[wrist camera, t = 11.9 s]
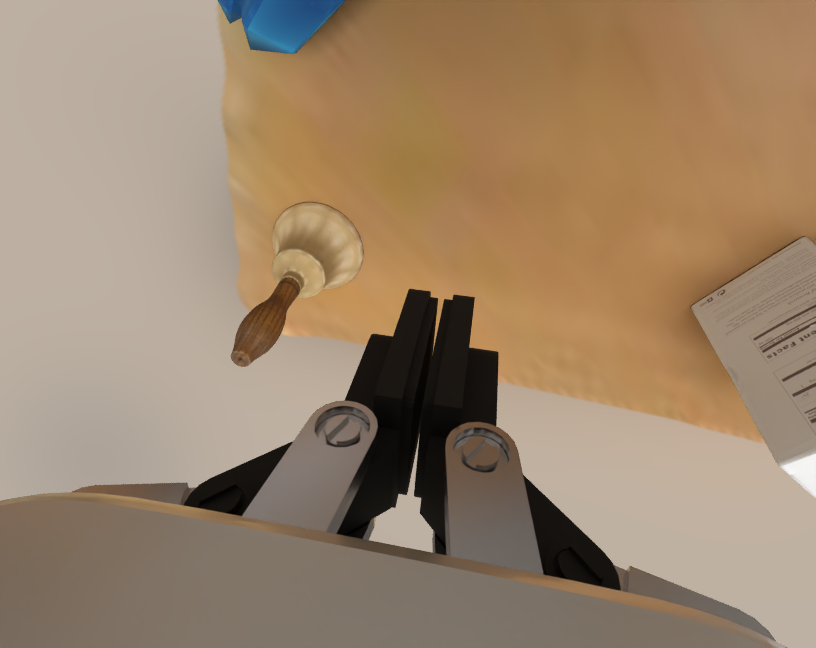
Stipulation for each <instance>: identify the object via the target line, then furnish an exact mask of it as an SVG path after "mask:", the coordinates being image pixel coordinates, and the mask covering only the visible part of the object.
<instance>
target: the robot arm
mask: <svg viewBox="0 0 816 648" xmlns="http://www.w3.org/2000/svg"><path fill="white" fill-rule="evenodd" d="M430 296H431V292H430V291H423V290H415V289H409V291H408V294H407V297H406V300H405V303H404V306H403V309H402V312H401V315H400V318H399V321H398V324H397V327H396V330H395V333H394V335H393V337H392V336H385V335H378V334H372V335H371V337H370V339H369V341H368V344H367V346H366V349H365V351H364V354H363V356H362V359H361V361H360V364H359V366H358V369H357V371H356V374H355V376H354V379H353V381H352V384H351V386H350V389H349V391H348V394H347V396H346V399H345V401H336V402H332V403H329V404H326V405H324V406H323V407H321V408H319V409H317V410H316V411H315V412H314V413H313V414H312V416H311V417H310V418H309V420H308V421H307V423H306V424H305V425H304V427H303V428H302V430H301V431H300V433H299V434H298V436H297V437H296V439H295V440H294V441H293V442H290V443H288V444H286V445H284V446H281V447H279V448H277V449H275V450H272V451H271V452H268V453H266V454H264V455H262V456H259V457H257V458H255V459H252V460H250V461H248V462H246V463H244V464H241V465H239V466H237V467H235V468H232V469H231V470H228V471H226V472H224V473H221V474H219V475H217V476H215V477H212V478H210V479H209V480H207V481H205V482H204V483H202V484H200V485H199V486H198V487H197V488H189V487H188V484H187V483H157V484H125V485H124V484H122V485H94V486H88V487H83V488H80V489H77V490H75V491H73V492H70V493H48V494H37V495H31V496H24V497H18V498H12V499H7V500H2V501H0V648H787V647H785V646H783V645H782V644H779V643H778V642H776V641H775V639H774V638H773V636H772V635H771V634H770V632H769V631H768V630H767V629H766V628H765V627H763V626H762V625H761V624H760V623H759V622H758V621H757V620H756V619H755V618H753V617H751V616H750V615H748V614H746V613H744V612H742V611H741V610H739V609H737V608H734V607H732V606H729V605H727V604H724V603H721V602H719V601H717V600H714V599H712V598H709V597H707V596H704V595H702V594H699V593H696V592H694V591H691V590H689V589H687V588H684V587H682V586H679V585H677V584H674V583H671V582H669V581H666V580H664V579H662V578H659V577H657V576H654V575H652V574H649V573H646V572H644V571H642V570H639V569H637V568H634V567H632V566H629V568H628V569H627V570H624V569H622V568H619V567H617V566H614V565H613V563H612V562H611V560H610V559H609V558H608V557H607V556H606V554H605V553H604V552H603V551H602V550H601V549H600V548H599V547H598V546H597V545H596V544H595V543H594V542H593V541H592V540H591V539H590V538H589V537H588V536H586V535H585V534H584V533H583V532H582V531H581V530H580V529H579V528H578V527H577V526H576V525H575V524H574V523H573V522H572V521H571V520H570V519H569V518H568V517H566V516H565V515H564V513H562V512H561V511H560V510H559V509H558V508H557V507H556V506H555V505H554V504H553V503H552V502H551V501H550V500H549V499H548V498H547V497H546V496H545V495H544V494H542V492H540V491H539V490H538V489H537V488H536V487H535V486H534V485H533V484H532V483H531V482H530V481H529V480H528V479H527V478H526V477H525V476H524V475H523V473H522V468H521V463H520V458H519V454H518V450H517V447H516V445H515V442H514V441H513V440H512V439H511V437H510V436H509V435H508V434H507V433H506V432H504V431H503V430H501V429H500V428H498V427H496V419H497V385H498V352H496V351H489V350H482V349H475V348H469V343H470V335H471V326H472V317H473V308H474V299H475V297H468V296H460V295H453V300H448V299H444V303H443V308H442V313H441V318H440V322H439V327H438V332H437V337H436V341H435V346H434V351H433V345H434V335H435V325H436V315H437V305H438V298H433V297H430ZM432 354H433V356H432ZM419 434H420V436H419ZM418 438H419V448H418V459H417V469H416V481H415V490H414V496H415V497H420V498H421V507H420V514H421V515H422V516H423V518H424V519H425V520H426V521H427V523H428V524H429V525H430V526H431V528H432V529H433V530H434V531H433V538H432V543H433V553H431V552H425V551H421V550H415V549H410V548H405V547H400V546H395V545H390V544H385V543H379V542H374V541H369V538H370V536H371V533H372V531H373V529H374V526H375V521H376V516H378V515H380V514H381V513H383V512H385V511H387V510H388V509H390V508H391V507H394V508H395V507H396V502H397V498H398V494H404V495H407V492H408V487H409V483H410V478H411V473H412V468H413V463H414V458H415V452H416V448H417V443H418Z"/></svg>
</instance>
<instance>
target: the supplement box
mask: <svg viewBox="0 0 816 648" xmlns="http://www.w3.org/2000/svg"><path fill="white" fill-rule="evenodd" d="M691 310H692V311H693V313H694V315H695V317H696V318H697V320H698V322H699V323H700V325H701V327H702V329H703V330H704V332H705V334H706V336H707V338H708V339H709V341H710V343H711V345H712V347H713V348H714V350H715V352H716V354H717V356H718V357H719V359H720V361H721V363H722V364H723V366H724V368H725V369H726V371H727V372H728V373H729V375H730V376H731V378H732V380H733V382H734V385H735V386H736V388H737V390H738V392H739V394H740V396H741V398H742V400H743V402H744V404H745V406H746V408H747V410H748V411H749V413H750V415H751V417H752V419H753V421H754V422H755V424H756V426H757V428H758V430H759V432H760V433H761V435H762V437H763V439H764V441H765V442H766V444H767V446H768V448H769V450H770V452H771V453H772V455H773V457H774V459H775V461H776V462H777V464H778V466H779V467H780V468H782V469H783V470H784V471H785V472H786V473H787V474H789V475H790V476H791V477H792V478H793V479H794V480H795V481H797V482H798V483H799V484H800V485H801V486H802V487H803V488H804V489H805V490H807V491H808V492H809V493H810V494H811V495H812V496H813V497H815V498H816V245H815V244H814V243H813V242H812V241H811V240H810V239H809V238H807V237H802V238H800V239H799V240H797V241H795V242H794V243H792V244H791V245H789V246H787V247H786V248H784V249H782V250H781V251H779V252H778V253H776V254H774V255H773V256H771V257H769V258H768V259H766V260H765V261H763V262H761V263H760V264H758V265H757V266H755V267H753V268H752V269H750V270H748V271H747V272H745V273H744V274H742V275H741V276H739V277H737V278H736V279H734V280H732V281H731V282H729V283H728V284H726V285H724V286H723V287H721V288H719V289H718V290H716V291H715V292H713V293H711V294H710V295H708V296H707V297H705V298H703V299H702V300H700V301H699V302H697V303H695V304H694V305H692V306H691Z"/></svg>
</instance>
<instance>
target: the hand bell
mask: <svg viewBox="0 0 816 648" xmlns="http://www.w3.org/2000/svg"><path fill="white" fill-rule="evenodd" d="M273 247H274V251H275V255H276V257H275V258H274V261H273V263H272V274H273V277H274V280H275V281H276V283H277V285H278V286H277V287H276V289H275V290H274V292H273V294H272V295H271V297H270V298H269V299H268V300H266V301H265V302H263V303H261V304H259V305H258V306H256V307H255V308H254V309H253V310H252V311H251V312H250V313H249V314H248V315H247V316H246V317H245V318H244V320H243V321H242V323H241V324H240V326H239V328H238V331H237V334H236V338H235V344H234V348H233V352H232V354H231V359H232V361H233V362H234V363H235V364H236V365H238V366H241V367H246V366H248V365H249V364H250V363H251V362H253V361H254V360H255V359H257V358H259V357H260V356H261V355H263V354H265V353H266V352H267V351H268V350H269V349H270V348H271V347H272V346H273V345H274V344H275V342H276V341H277V340H278V338H279V336H280V334H281V332H282V330H283V327H284V324H285V320H286V312H287V310H288V308H289V306H290V305H291V304H292V302H293V301H294V300H295V298H296V297H298V298H309V297H312V296H314V295H316V294H318V293H319V292H320V291H321V290H322V289H331V288H337V287H340V286H342V285H344V284H346V283H348V282H349V281H351V280H352V279H353V278H354V277H355V276H356V274H357V273H358V271H359V269H360V267H361V265H362V261H363V246H362V241H361V238H360V236H359V234H358V232H357V230H356V228H355V227H354V225H353V224H352V223H351V222H350V220H349V219H348V218H347V217H345V216H344V215H343V214H342V213H340V212H339V211H337V210H335V209H334V208H332V207H329V206H327V205H324V204H320V203H311V202H306V203H300V204H297V205H294V206H292V207H290V208H288V209H287V210H285V211H284V212H283V213H282V214H281V215H280V216H279V218H278V219H277V221H276V223H275V226H274V230H273Z"/></svg>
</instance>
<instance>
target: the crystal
mask: <svg viewBox="0 0 816 648" xmlns="http://www.w3.org/2000/svg"><path fill="white" fill-rule="evenodd" d="M345 1H346V0H218V2H219V4H220V5H221V7H222V9H223V11H224V13H225V15H226V17H227V19H228V21H229V23H232V22H234V21H236V20H238V19H240V18H242V23H243V26H244V30H245V33H246V36H247V39H248V43H249V46H250V49H251V50H261V51H270V52H280V53H290V54H294V53H297V51H298V50H299V49H300V48H301V47H302V46H303V45H304V44H305V43H306V42H307V41H308V40H309V39H310V38H311V37H312V36H313V35H314V34H315V33H316V31H317V30H318V29H319V28H320V27H321V26H322V25H323V24H324V23H325V22H326V21H327V20H328V19H329V18H330V17H331V16H332V15H333V14H334V13H335V11H336V10H337V9H338V8H339V7H340V6H341V5H342V4H343V3H344V2H345Z"/></svg>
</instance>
